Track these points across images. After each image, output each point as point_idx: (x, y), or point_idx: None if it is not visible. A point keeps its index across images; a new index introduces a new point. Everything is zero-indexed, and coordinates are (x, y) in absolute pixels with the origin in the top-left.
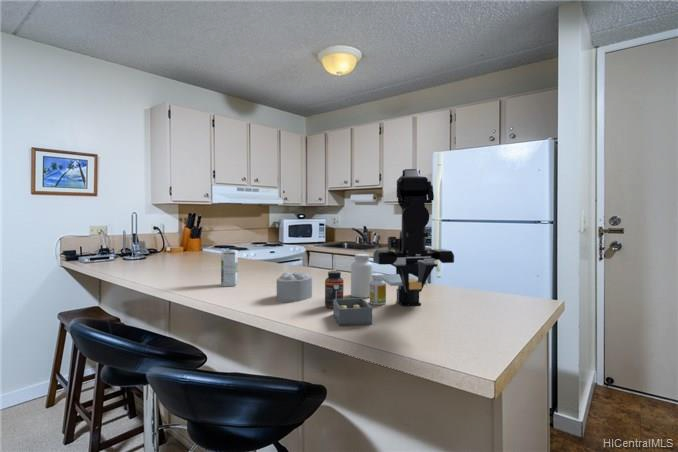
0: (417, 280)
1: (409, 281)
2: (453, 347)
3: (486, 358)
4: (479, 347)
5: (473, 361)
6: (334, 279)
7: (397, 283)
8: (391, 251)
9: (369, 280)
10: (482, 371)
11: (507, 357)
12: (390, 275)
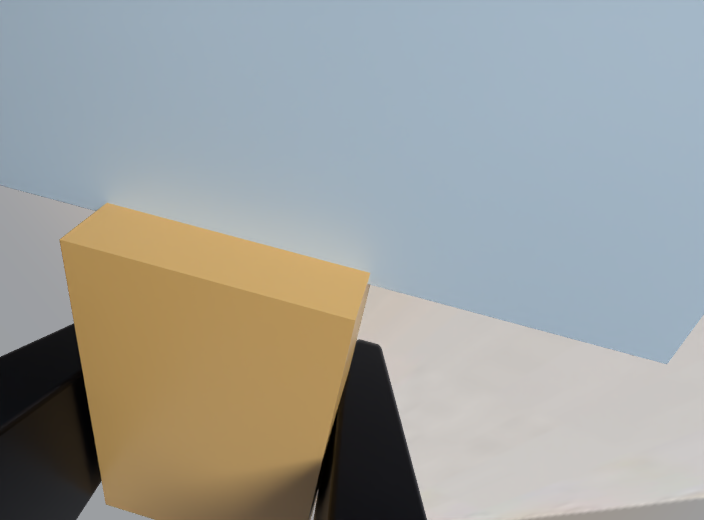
0: (312, 466)
1: (131, 451)
2: (487, 346)
3: (523, 466)
4: (615, 399)
5: (448, 457)
6: None
7: (4, 169)
8: None
9: None
10: None
11: (616, 496)
12: None
